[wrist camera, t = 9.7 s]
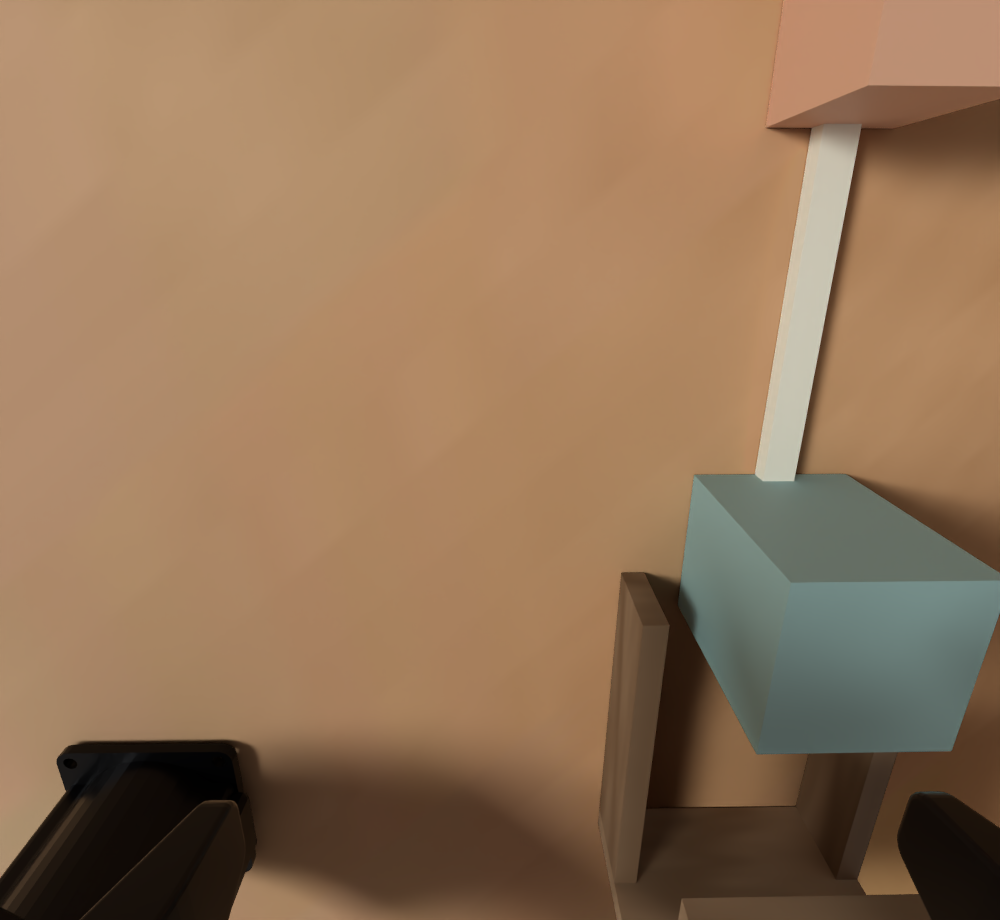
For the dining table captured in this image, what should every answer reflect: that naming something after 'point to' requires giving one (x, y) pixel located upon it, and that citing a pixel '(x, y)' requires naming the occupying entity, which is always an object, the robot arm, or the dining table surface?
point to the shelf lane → (728, 815)
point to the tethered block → (837, 497)
